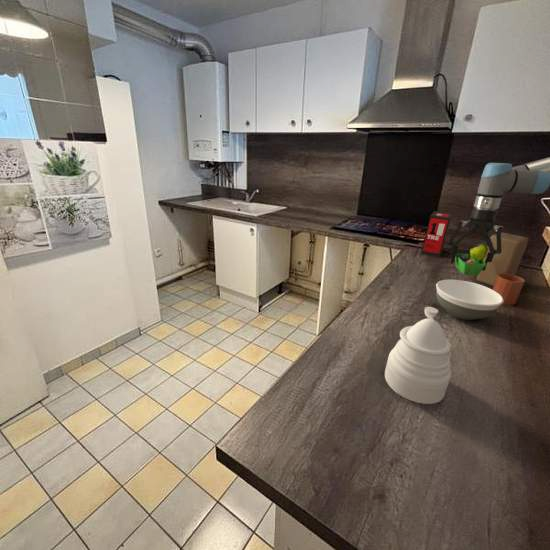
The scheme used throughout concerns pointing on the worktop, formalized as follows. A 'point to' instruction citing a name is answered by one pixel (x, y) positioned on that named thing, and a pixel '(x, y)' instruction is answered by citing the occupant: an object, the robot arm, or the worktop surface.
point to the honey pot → (420, 362)
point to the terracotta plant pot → (508, 287)
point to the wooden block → (504, 257)
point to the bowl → (467, 299)
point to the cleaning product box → (436, 233)
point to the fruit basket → (472, 260)
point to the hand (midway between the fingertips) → (467, 265)
